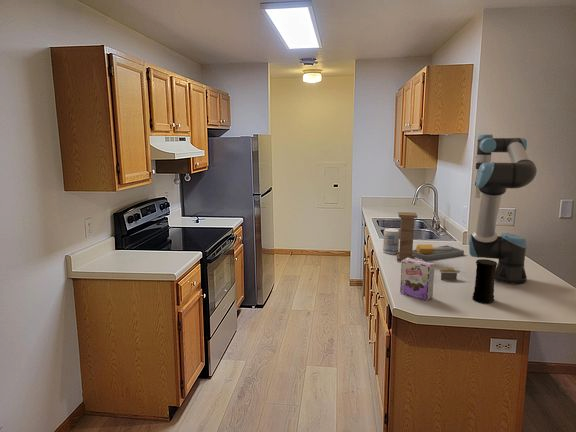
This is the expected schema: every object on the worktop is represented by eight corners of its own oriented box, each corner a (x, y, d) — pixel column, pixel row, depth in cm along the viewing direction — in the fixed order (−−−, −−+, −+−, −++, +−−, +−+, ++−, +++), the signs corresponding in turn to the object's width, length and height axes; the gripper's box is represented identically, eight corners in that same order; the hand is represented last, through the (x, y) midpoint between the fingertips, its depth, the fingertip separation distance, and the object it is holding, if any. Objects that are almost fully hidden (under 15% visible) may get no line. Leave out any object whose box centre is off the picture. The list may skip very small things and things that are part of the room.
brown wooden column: (414, 262, 243) (417, 215, 238) (397, 261, 245) (399, 215, 240) (413, 257, 253) (415, 212, 248) (396, 257, 255) (398, 212, 250)
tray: (425, 261, 246) (425, 256, 246) (409, 255, 259) (410, 250, 258) (463, 255, 258) (464, 250, 257) (446, 249, 270) (447, 245, 270)
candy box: (399, 293, 196) (401, 259, 193) (405, 290, 200) (407, 257, 197) (426, 301, 186) (429, 265, 183) (433, 297, 190) (435, 263, 187)
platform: (427, 276, 221) (427, 264, 220) (461, 276, 220) (462, 264, 219) (433, 283, 209) (434, 271, 208) (470, 284, 208) (471, 271, 207)
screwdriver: (420, 248, 254) (417, 244, 257) (418, 253, 256) (415, 249, 259) (453, 248, 261) (450, 244, 264) (451, 253, 263) (448, 249, 266)
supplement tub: (387, 255, 259) (388, 232, 256) (380, 251, 268) (381, 228, 265) (401, 253, 262) (402, 231, 259) (393, 249, 271) (394, 227, 268)
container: (487, 296, 192) (491, 258, 188) (498, 303, 183) (501, 264, 179) (468, 296, 191) (471, 258, 188) (478, 304, 183) (481, 264, 179)
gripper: (471, 161, 247) (468, 196, 251) (481, 163, 223) (478, 202, 227) (484, 161, 245) (482, 196, 249) (496, 163, 221) (493, 203, 225)
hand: (480, 199), depth 238 cm, fingers open, 13 cm apart
